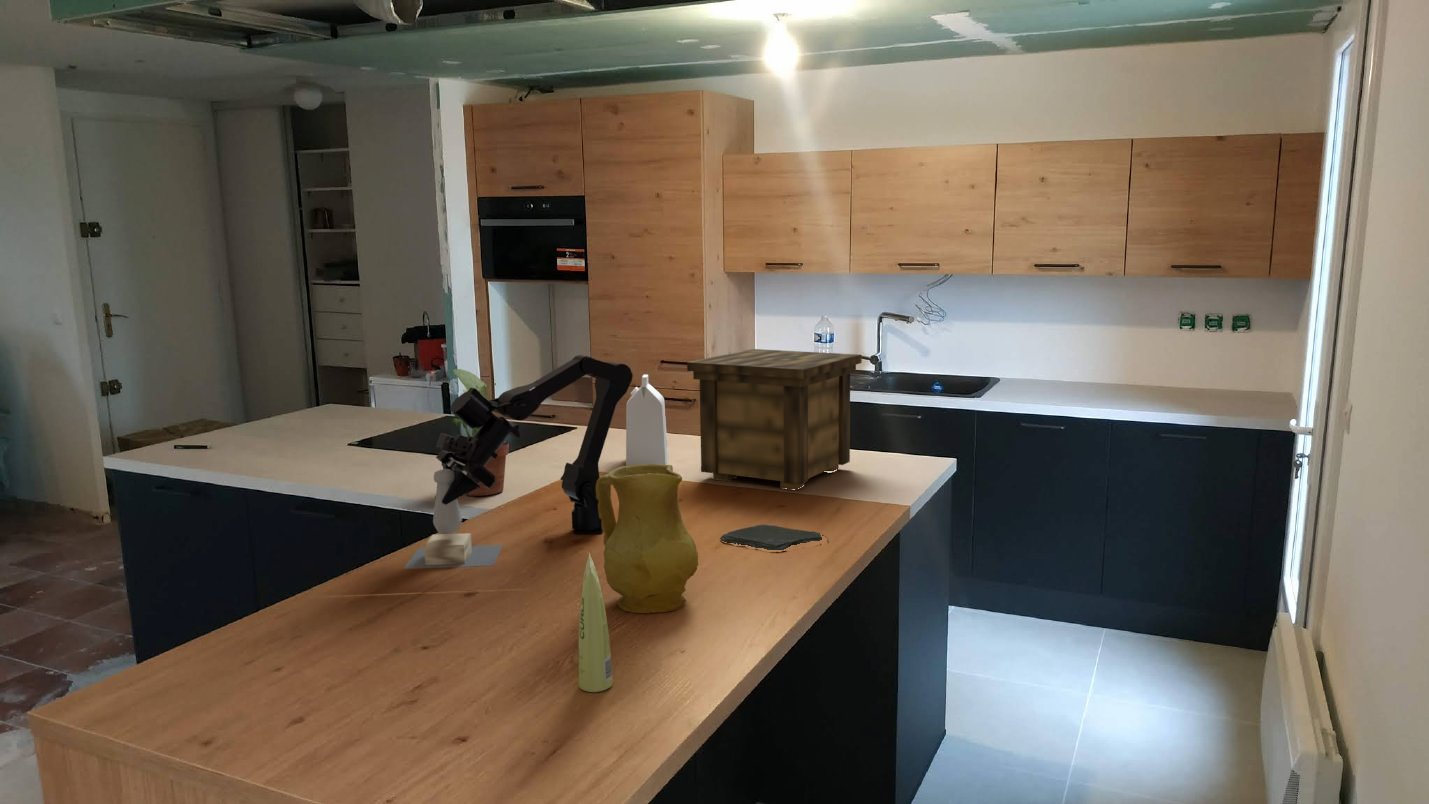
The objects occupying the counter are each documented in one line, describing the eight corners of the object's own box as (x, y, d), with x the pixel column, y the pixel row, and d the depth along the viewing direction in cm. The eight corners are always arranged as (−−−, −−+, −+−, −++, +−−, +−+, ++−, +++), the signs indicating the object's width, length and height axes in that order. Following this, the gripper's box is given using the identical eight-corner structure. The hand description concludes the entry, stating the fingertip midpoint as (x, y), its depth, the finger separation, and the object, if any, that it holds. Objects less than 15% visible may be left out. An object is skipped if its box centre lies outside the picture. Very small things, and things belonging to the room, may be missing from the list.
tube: (569, 686, 148) (563, 559, 145) (594, 674, 152) (589, 551, 149) (595, 696, 145) (590, 567, 142) (620, 684, 149) (616, 558, 145)
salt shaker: (443, 537, 204) (439, 475, 201) (428, 532, 207) (423, 471, 205) (468, 530, 208) (464, 469, 206) (452, 525, 212) (448, 465, 209)
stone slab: (718, 555, 210) (718, 546, 209) (721, 532, 226) (721, 523, 226) (832, 555, 209) (832, 546, 208) (826, 531, 225) (826, 523, 225)
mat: (503, 546, 217) (503, 544, 217) (493, 567, 203) (492, 565, 203) (419, 549, 216) (419, 547, 216) (403, 570, 202) (403, 568, 202)
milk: (665, 467, 290) (663, 378, 285) (626, 467, 290) (623, 379, 286) (668, 458, 302) (666, 372, 297) (630, 458, 302) (627, 373, 297)
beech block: (471, 551, 213) (470, 533, 212) (464, 563, 205) (463, 544, 204) (433, 552, 212) (432, 534, 212) (425, 564, 204) (424, 546, 204)
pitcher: (626, 624, 171) (623, 480, 168) (588, 596, 187) (585, 464, 185) (715, 609, 178) (713, 471, 176) (671, 583, 195) (669, 456, 192)
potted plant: (441, 498, 259) (432, 364, 253) (476, 484, 273) (468, 357, 267) (491, 503, 253) (484, 366, 247) (524, 488, 267) (518, 358, 261)
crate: (689, 480, 273) (687, 362, 268) (754, 456, 302) (753, 348, 297) (803, 496, 254) (803, 369, 249) (860, 469, 283) (861, 354, 278)
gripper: (442, 412, 213) (395, 471, 209) (477, 424, 199) (427, 488, 194) (479, 443, 219) (434, 500, 215) (516, 457, 205) (468, 519, 200)
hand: (439, 501), depth 206 cm, fingers closed on salt shaker, 3 cm apart
